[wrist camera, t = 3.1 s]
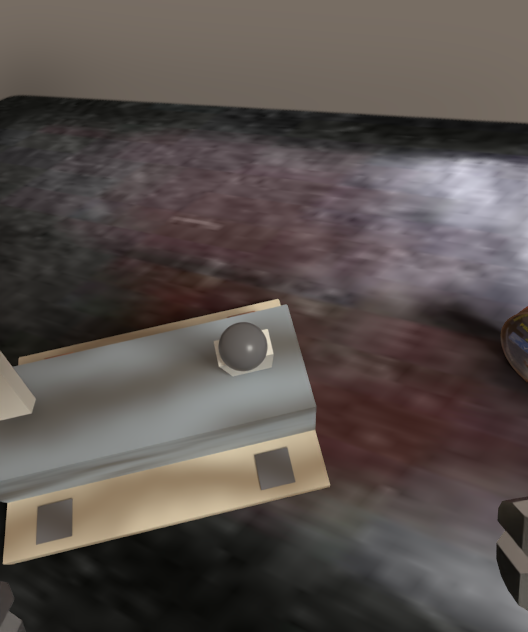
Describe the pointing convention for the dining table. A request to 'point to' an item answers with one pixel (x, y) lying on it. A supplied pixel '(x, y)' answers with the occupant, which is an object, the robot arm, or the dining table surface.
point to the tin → (516, 342)
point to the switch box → (154, 434)
